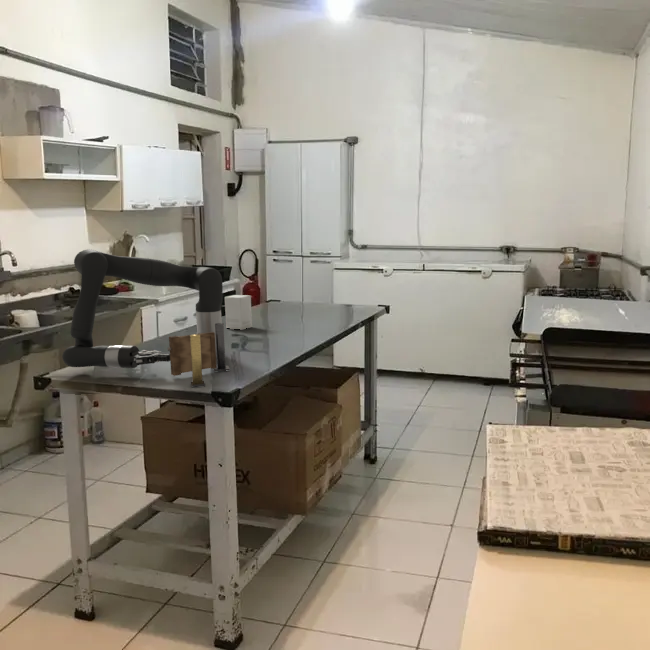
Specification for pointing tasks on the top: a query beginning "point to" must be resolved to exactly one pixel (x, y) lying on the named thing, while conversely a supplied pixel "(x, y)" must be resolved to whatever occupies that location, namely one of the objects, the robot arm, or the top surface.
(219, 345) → the hinge post
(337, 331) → the top surface
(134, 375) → the top surface
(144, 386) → the top surface
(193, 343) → the post
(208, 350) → the gate
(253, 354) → the top surface
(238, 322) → the supplement box
